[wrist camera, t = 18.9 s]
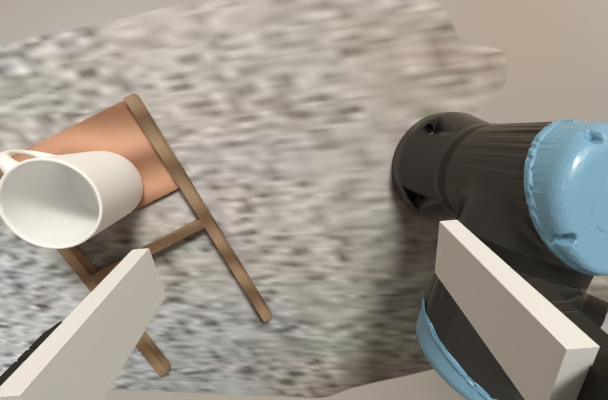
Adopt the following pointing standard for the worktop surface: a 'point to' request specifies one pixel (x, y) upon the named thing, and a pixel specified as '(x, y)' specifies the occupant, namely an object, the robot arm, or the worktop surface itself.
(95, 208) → the mug
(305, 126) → the worktop surface
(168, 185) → the flat wooden frame
